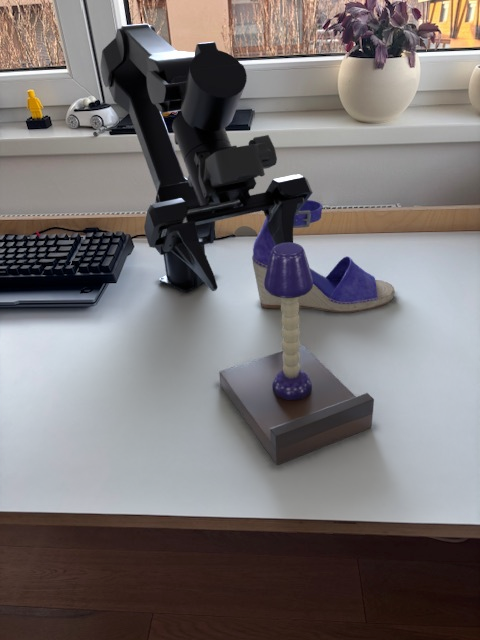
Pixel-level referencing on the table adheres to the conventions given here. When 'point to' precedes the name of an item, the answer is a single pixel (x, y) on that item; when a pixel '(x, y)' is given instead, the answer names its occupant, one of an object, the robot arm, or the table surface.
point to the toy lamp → (289, 314)
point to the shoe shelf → (295, 406)
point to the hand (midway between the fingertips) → (254, 279)
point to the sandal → (327, 292)
